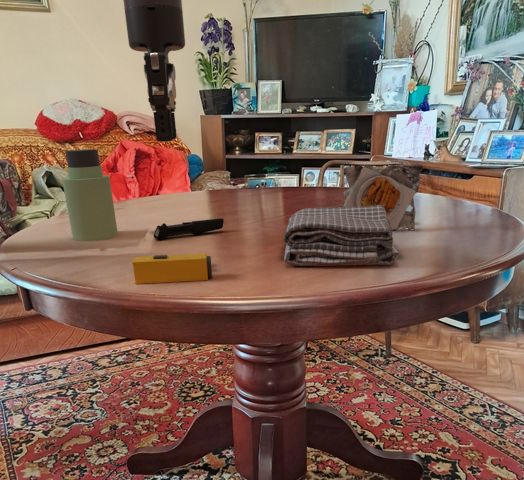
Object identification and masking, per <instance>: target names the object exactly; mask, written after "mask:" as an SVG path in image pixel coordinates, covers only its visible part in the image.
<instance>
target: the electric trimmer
mask: <svg viewBox="0 0 524 480" xmlns="http://www.w3.org/2000/svg"><path fill="white" fill-rule="evenodd" d="M224 223H225V219H224V218H223V217H222V218H221V217H220V218H210V219H201V220H200V219H199V220H191V221H186V222H184V221H183V222H181V223H178V224H170V225H167V224H166V223H164V222H163V223H162V224H161V225H157V226H156V227H155V230H154V233H153V239H154V240H155V241H158V240H159V241H162V240H164V239H165V238H171V237H179V236H185V235H195V236H197V235H200V234H204V233H209V232H213V231H218V230H221V229H223V227H224Z"/></svg>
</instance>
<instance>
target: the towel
mask: <svg viewBox="0 0 524 480" xmlns="http://www.w3.org/2000/svg"><path fill="white" fill-rule="evenodd" d="M282 240H283V242H284V243H285V244H286V246H285V250H284V257H283V261H284V263H285V264H287V265H292V266H297V267H324V266H325V267H328V266H329V267H330V266H331V267H332V266H333V267H336V266H339V267H340V266H356V265H357V266H363V265H365V266H366V265H371V266H373V265H374V266H375V265H376V266H377V265H381V266H382V265H383V266H391V265H394V264H395V263H396V260H397V259H398V257H399V251H398V250H397V249H396V248H395V247H394V245H393V244H394V237H393V229H391V227H390V222H389V220H388V218H387V214H386V210H385V208H384V206H383V205H376V206H366V207H365V206H363V207H342V206H340V207H338V206H337V207H333V206H332V207H307V208H302V209H299V210H298V211H296V212H294V213H292V215H291V216H290V217H289V218H288V220H287V225H286V227H285V230H284V234H283V236H282Z"/></svg>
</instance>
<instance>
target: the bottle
mask: <svg viewBox="0 0 524 480" xmlns="http://www.w3.org/2000/svg"><path fill="white" fill-rule="evenodd" d="M64 152H65V158H66V163H67V167H66V173H67V177H63V178H61V181H62V186H63V193H64V198H65V203H66V208H67V214H68V219H69V225H70V230H71V235H72V239H73V240H74V241H78V242H96V241H103V240H109V239H113V238H116V237H118V236H119V232H118V225H117V218H116V211H115V205H114V198H113V191H112V185H111V177H110V175H108V174H104V172H103V167H102V165H101V164H100V156H99V150H98V149H97V148H87V149H84V148H83V149H68V150H65V151H64Z"/></svg>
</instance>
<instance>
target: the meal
mask: <svg viewBox="0 0 524 480" xmlns="http://www.w3.org/2000/svg"><path fill="white" fill-rule="evenodd" d="M423 167H424V166H423V165H422V164H419V165H416V164H414V165H413V164H411V165H410V164H409V165H407V164H406V165H402V164H401V165H400V164H399V165H397V164H396V165H394V164H392V165H391V164H389V165H387V166H372V165H371V166H370V165H359V166H346V167H344V174H345V179H346V181H347V185H348V189H346V190H344V191H342V193H343V195H344V198H345V201H344V202H343V203H342V206H341V207H363V206H365V207H366V206H376V205H383V206H384V208H385V210H386V214H387V218H388V220H389V222H390V227H391V230H393V229H398V230H400V228H403V229H404V228H408V229H414V230H415V229H416V222H415V221H416V207H415V201H414V199H415V198H414V197H415V195H416V194H417V193H419V189H420V181H421V180H420V177H421V176H420V175H421V173H422V171H423ZM409 206H410V207H412V209H410V211H408V209H409Z"/></svg>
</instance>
